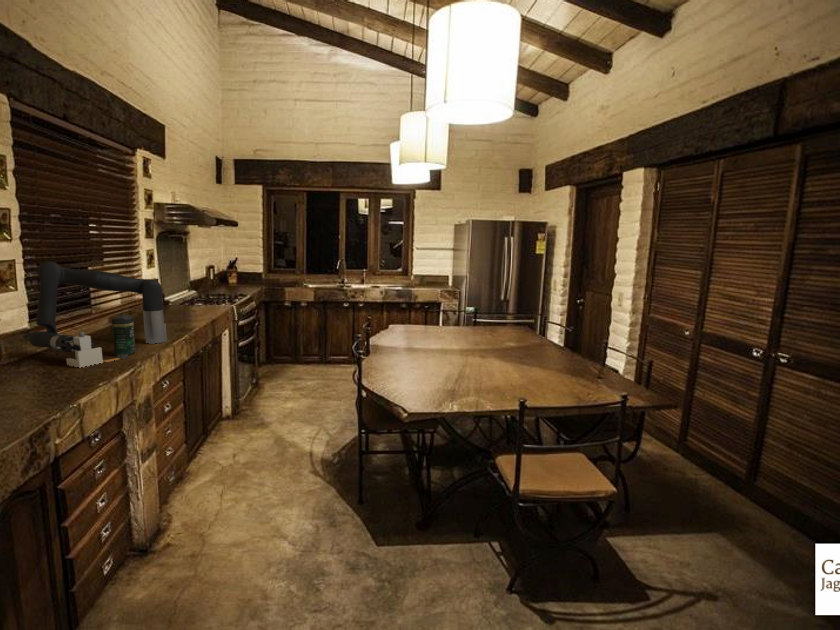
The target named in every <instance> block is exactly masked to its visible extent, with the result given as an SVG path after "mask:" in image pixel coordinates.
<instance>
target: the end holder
mask: <svg viewBox="0 0 840 630" xmlns="http://www.w3.org/2000/svg"><path fill="white" fill-rule="evenodd" d="M65 360H66V365H67V366H68V365H69V366H68V367H73V366H74V368H77V367H79V368H78V369H81V367H83V368H86V367H85V366H87V367H91V366H90V365H92V366H95V365H94V364H96V365H100V364H99V363H101V364H103V363H104V362H103V360H104V359H103V349H102V347H94V348H92V349H88V350H83V351H78V352H77V360H76V358H70V357H68V358H66V359H65Z"/></svg>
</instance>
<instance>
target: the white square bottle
mask: <svg viewBox="0 0 840 630" xmlns="http://www.w3.org/2000/svg"><path fill="white" fill-rule="evenodd" d="M73 339H74V345H79V346H81V351H83V350H88V349H93V348H92V346H91V340H92V338H91V335H87V334H86V335H85V331H79V332H78V335H77V336H75V337H73ZM77 352H78V351H76V350H75V351H74V354H75V355H74V356H75V359H76V360H77Z"/></svg>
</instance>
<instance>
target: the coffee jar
mask: <svg viewBox="0 0 840 630" xmlns="http://www.w3.org/2000/svg"><path fill="white" fill-rule="evenodd" d="M134 321H135V320H134V317H133V315H131V314H121V315H119V316H115V317H113V318H112V319H111V327H112V332H113V353H114V355H115V356H117V354H122V353H126V354H128V356H130V355H133V354H134V353H136V351H137V349H136V341H135V329H134V328H135V327H134V326H135V325H134Z"/></svg>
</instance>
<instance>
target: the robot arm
mask: <svg viewBox="0 0 840 630" xmlns="http://www.w3.org/2000/svg"><path fill="white" fill-rule="evenodd" d="M37 274H38V277H39V283H40V284H39V286H40V287H39V297H38V302H37V303H38V304H37V309H36V321H35V322H36V325H37V326H40V327H43V328H45V330H46V331H43V330H37V331H33V332H32V333H31V334H30V335H29V338H28V340H29V343H30V345H32V346H34V347H38V348H48V349H52V350H56V351H58V352H59V351H60V352H64V353H65V352H66V353H72V352H75V350H76V351H81V346H79V345H74V339H73V337H76V336H74V335H72V334H71V335H70V334H67V333H66V334H64V333H58V331H57V325H56V318H57V297H58V296H57V295H58V289H59V287H58V286H59V284H66V285H67V284H70V285H76V286H79V287H80V286H81V287H84V288H90V289H95V290H100V291H108V292H127V293H128V292H129V293H134V294H135V293H136V294H140V295H141V296H142V312H143V313H142V315H143V326H144V327H143V328H144V339H145V344H147V343H149V344H150V345H155V343H157V344H163V343H165V342H167V341H168V337H167V336H168V335H167V323H165V321H164V320H165V317H164V296H163V287H162V285H161V283H160V282H158V281H157V280H155V279H151V278H150V279H149V278H136V277H130V276H126V275H122V274H119V273H113V272H109V271H104V270H103V271H102V270H93V269H74V268H70V267H65V266H61V265H60V264H58V263H57V262H54V261H46V262H43V263H41V264H40V265H39V266H38V268H37ZM162 342H163V343H162ZM149 344H148V345H149ZM91 346H92V349H94V348H96V347H95V343H94V340H92V339H91Z"/></svg>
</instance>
